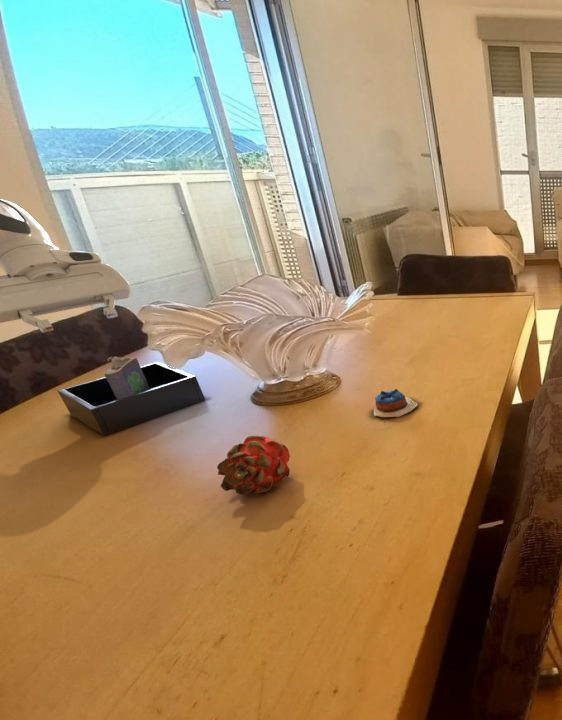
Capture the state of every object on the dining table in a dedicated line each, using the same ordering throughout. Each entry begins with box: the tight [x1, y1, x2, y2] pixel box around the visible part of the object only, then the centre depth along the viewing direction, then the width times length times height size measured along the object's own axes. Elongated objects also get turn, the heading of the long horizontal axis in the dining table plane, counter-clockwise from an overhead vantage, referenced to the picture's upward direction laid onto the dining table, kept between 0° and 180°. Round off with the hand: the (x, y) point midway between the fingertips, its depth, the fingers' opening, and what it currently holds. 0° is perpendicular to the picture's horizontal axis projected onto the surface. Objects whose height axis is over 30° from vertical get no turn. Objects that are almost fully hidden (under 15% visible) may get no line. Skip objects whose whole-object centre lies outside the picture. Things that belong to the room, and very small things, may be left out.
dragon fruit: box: [216, 435, 291, 495], centre depth 71 cm, size 8×8×12 cm
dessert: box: [373, 388, 419, 418], centre depth 93 cm, size 8×7×6 cm
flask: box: [104, 356, 150, 400], centre depth 94 cm, size 9×3×11 cm, turn 25°
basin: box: [57, 361, 206, 437], centre depth 95 cm, size 16×18×6 cm
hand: (81, 322), depth 95 cm, fingers open, 8 cm apart
